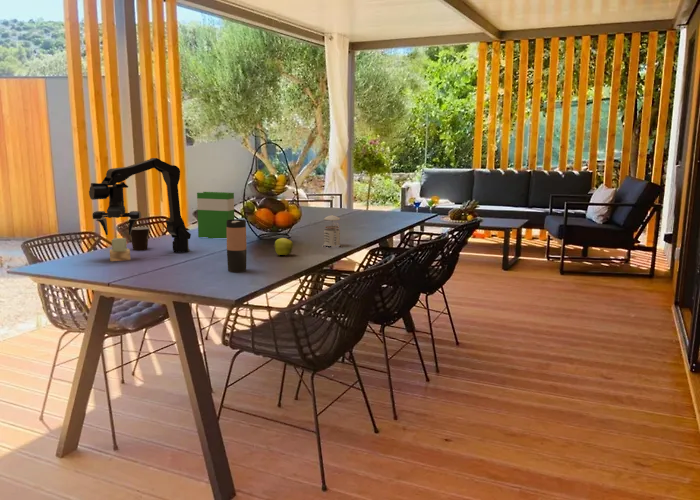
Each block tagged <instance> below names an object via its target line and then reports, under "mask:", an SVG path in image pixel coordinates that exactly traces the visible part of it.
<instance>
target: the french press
mask: <svg viewBox="0 0 700 500" xmlns="http://www.w3.org/2000/svg"><path fill="white" fill-rule="evenodd" d="M330 199H331V209H333V208H334V207H333V201H334V200H333V199H335V196H334V195H331V196H330ZM323 220H324V221H331V222H333V221H340V220H341V218H340V217H339V216H336V215H333V214H331V215H327V216H326V217H324V218H323ZM324 228H325V229H324V230H323V235H324V236H323V239H324V240H323V242H324V243H323V245H328V246H336V245H341V244H340V243H341V240H340V239H341V235H340V234H341V229H340V226H339V223H338V222H333V225H326V226H324Z"/></svg>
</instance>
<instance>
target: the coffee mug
mask: <svg viewBox="0 0 700 500" xmlns="http://www.w3.org/2000/svg"><path fill="white" fill-rule="evenodd" d="M149 233H150V228H149V227H147V226H137V227H134V226H133V228H132V231H131V234H130V235H129V236H130V240H131V246H132V251H138V252H139V251H146V250H148V247H149Z"/></svg>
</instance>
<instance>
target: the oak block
mask: <svg viewBox="0 0 700 500" xmlns="http://www.w3.org/2000/svg"><path fill="white" fill-rule="evenodd" d="M118 261H119V262H121V261H123V262H125V261H131V250H130V248H127V250H126V251H120V252H112V248H111V249H109V262H118Z"/></svg>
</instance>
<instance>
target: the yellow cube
mask: <svg viewBox="0 0 700 500" xmlns="http://www.w3.org/2000/svg"><path fill="white" fill-rule="evenodd" d="M111 249H112V252H120V251H126V250H127V249H128V246H127V237H115V238H112V239H111Z"/></svg>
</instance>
